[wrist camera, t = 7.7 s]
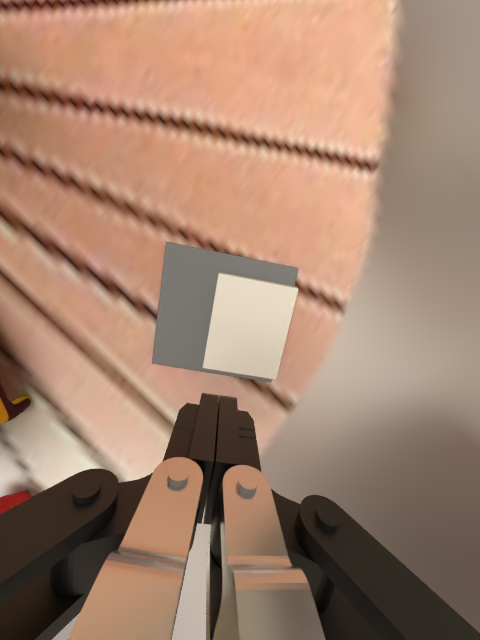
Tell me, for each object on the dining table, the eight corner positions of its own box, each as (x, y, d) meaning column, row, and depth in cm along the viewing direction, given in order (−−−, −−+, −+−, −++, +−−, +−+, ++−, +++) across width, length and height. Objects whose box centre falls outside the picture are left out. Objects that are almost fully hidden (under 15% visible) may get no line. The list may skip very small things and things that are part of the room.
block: (202, 367, 26) (276, 379, 27) (218, 273, 24) (298, 288, 24) (205, 356, 29) (271, 366, 30) (220, 271, 27) (290, 285, 27)
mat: (152, 362, 29) (151, 363, 29) (167, 242, 26) (166, 241, 26) (270, 380, 31) (270, 382, 30) (297, 268, 27) (298, 268, 27)
